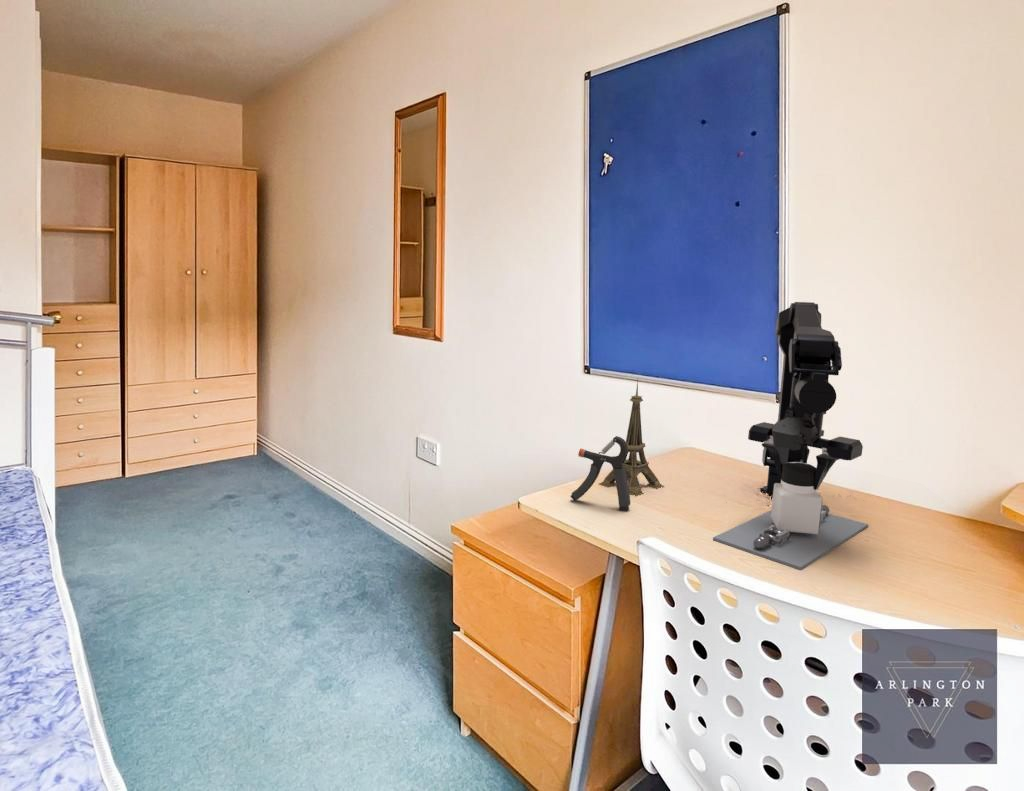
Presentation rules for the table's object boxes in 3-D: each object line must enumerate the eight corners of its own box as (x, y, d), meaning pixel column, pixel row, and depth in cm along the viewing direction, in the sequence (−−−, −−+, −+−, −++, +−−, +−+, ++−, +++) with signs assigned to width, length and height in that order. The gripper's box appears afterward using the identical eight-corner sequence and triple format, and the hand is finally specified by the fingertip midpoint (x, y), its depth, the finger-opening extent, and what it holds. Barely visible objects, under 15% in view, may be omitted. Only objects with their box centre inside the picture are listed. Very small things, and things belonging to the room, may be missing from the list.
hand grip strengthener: (572, 498, 138) (575, 430, 136) (630, 508, 133) (634, 437, 130) (569, 502, 136) (572, 432, 134) (627, 512, 131) (632, 440, 128)
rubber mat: (787, 504, 138) (787, 502, 138) (868, 526, 126) (868, 524, 126) (712, 539, 118) (713, 537, 118) (800, 569, 106) (800, 567, 106)
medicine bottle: (819, 535, 118) (826, 471, 116) (777, 531, 119) (784, 468, 117) (809, 521, 125) (816, 460, 123) (770, 517, 126) (776, 457, 124)
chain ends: (816, 510, 133) (817, 501, 133) (834, 515, 131) (835, 506, 130) (746, 547, 114) (747, 536, 113) (766, 554, 111) (767, 543, 111)
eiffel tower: (626, 476, 156) (633, 373, 151) (664, 487, 148) (671, 379, 144) (598, 484, 149) (604, 377, 144) (636, 496, 141) (643, 383, 136)
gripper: (737, 399, 119) (730, 481, 122) (843, 417, 106) (832, 508, 109) (766, 393, 127) (758, 470, 129) (868, 409, 113) (857, 494, 116)
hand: (798, 485), depth 121 cm, fingers closed on medicine bottle, 6 cm apart
